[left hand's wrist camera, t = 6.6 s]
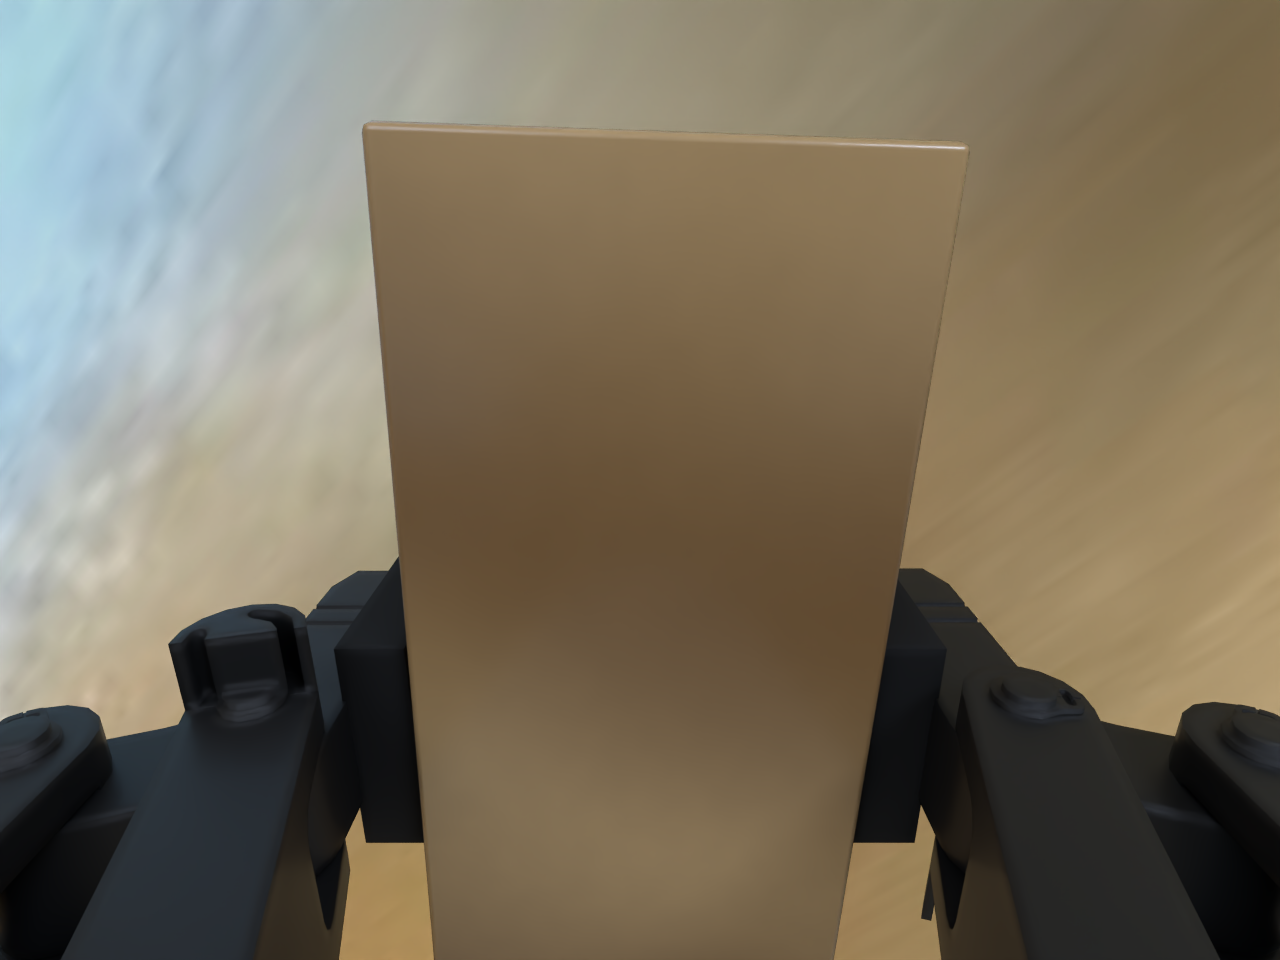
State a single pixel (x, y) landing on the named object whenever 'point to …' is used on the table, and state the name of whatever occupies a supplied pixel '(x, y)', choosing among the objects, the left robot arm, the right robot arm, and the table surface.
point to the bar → (650, 516)
